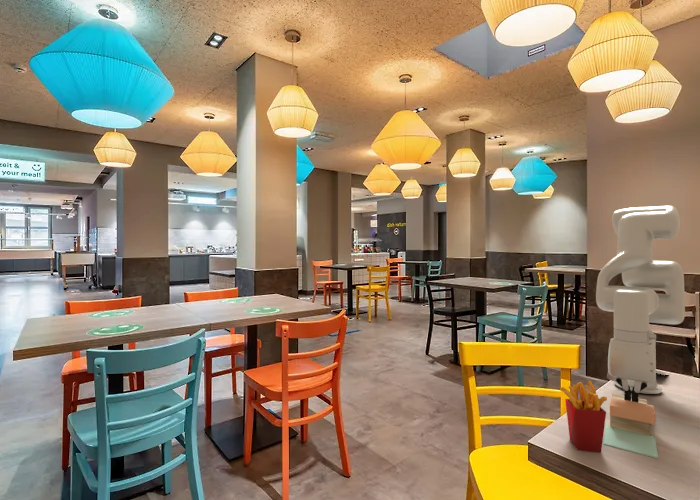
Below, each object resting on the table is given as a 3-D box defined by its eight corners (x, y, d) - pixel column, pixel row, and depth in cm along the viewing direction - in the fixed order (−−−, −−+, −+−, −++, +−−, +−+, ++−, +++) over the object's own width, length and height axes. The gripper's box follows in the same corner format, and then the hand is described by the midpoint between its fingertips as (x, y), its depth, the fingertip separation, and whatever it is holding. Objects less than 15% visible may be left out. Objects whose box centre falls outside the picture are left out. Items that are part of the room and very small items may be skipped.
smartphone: (635, 368, 135) (635, 366, 135) (646, 372, 144) (646, 369, 145) (660, 373, 130) (660, 370, 130) (670, 377, 139) (670, 374, 139)
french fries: (607, 455, 84) (607, 389, 84) (567, 452, 86) (567, 386, 86) (590, 436, 93) (590, 376, 93) (554, 433, 94) (554, 374, 94)
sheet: (611, 406, 110) (611, 393, 110) (646, 413, 105) (646, 399, 105) (610, 428, 97) (610, 412, 97) (649, 437, 92) (649, 420, 92)
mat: (605, 426, 97) (605, 425, 97) (654, 438, 92) (654, 437, 92) (603, 444, 89) (603, 443, 89) (658, 458, 83) (658, 457, 83)
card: (610, 406, 100) (610, 397, 100) (653, 415, 95) (653, 405, 95) (609, 414, 96) (609, 405, 96) (655, 424, 90) (655, 414, 90)
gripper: (666, 337, 98) (666, 407, 98) (598, 330, 107) (598, 394, 106) (669, 343, 92) (669, 417, 92) (596, 335, 100) (596, 403, 100)
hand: (631, 405), depth 99 cm, fingers closed
